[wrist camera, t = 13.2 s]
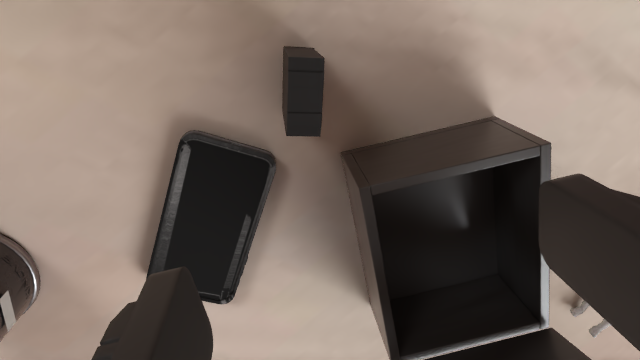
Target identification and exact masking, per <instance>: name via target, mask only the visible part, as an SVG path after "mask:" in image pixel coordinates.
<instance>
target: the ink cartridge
mask: <svg viewBox="0 0 640 360" xmlns="http://www.w3.org/2000/svg"><path fill="white" fill-rule="evenodd" d="M323 86H324V57H322V56H321V55H320V54H319V53H318V52H317V51H315V50H314V48H305V47H284V51H283V107H282V109H283V117H284V124H285V131H286V136H319V137H320V133H321V123H322V101H323Z"/></svg>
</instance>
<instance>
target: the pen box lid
mask: <svg viewBox="0 0 640 360" xmlns="http://www.w3.org/2000/svg"><path fill="white" fill-rule="evenodd" d="M425 360H591V359H590V358H589V357H588V356H586V355H585V354H584V353H583V352H581V351H580V350H579V349H578V348H576V347H575V346H574V345H573V344H572V343H570V342H569V341H568V340H567V339H565V338H564V337H563V336H562V335H560V334H559V333H558V332H557V331H555V330H554V329H553V328H548V329H544V330H540V331H536V332H532V333H528V334H524V335H521V336H517V337H513V338H509V339H505V340H501V341H497V342H493V343H489V344H485V345H481V346H477V347H473V348H469V349H465V350H461V351H457V352H453V353H449V354H445V355H441V356H437V357H433V358H429V359H425Z"/></svg>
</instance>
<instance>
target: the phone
mask: <svg viewBox="0 0 640 360" xmlns="http://www.w3.org/2000/svg"><path fill="white" fill-rule="evenodd" d="M275 171H276V161H275V158H274V156H273V155H272V154H271V153H270V152H268V151H266V150H263V149H259V148H256V147H253V146H249V145H246V144H242V143H239V142H235V141H232V140H229V139H225V138H222V137H218V136H215V135H211V134H208V133H205V132H201V131H196V130H194V131H189V132H187V133H186V134H185V135H184V136H183V137H182V139H181V140H180V142H179V145H178V149H177V153H176V158H175V162H174V166H173V170H172V174H171V178H170V182H169V186H168V191H167V195H166V199H165V203H164V207H163V211H162V215H161V220H160V224H159V228H158V232H157V236H156V240H155V244H154V249H153V253H152V257H151V261H150V265H149V269H148V273H147V277H146V280H147V278H148V276H149V275H151V274H154V273H158V272H163V271H167V270H171V269H175V268H179V267H186V268H187V269H188V270H189V271H190V273H191V275H192V278H193V280H194V283H195V285H196V288H197V290H198V293H199V296H200V298H201V301H206V302H211V303H216V304H226V303H229V302H230V301H231V300H233V298H234V296H235V293H236V290H237V287H238V285H239V282H240V278H241V276H242V273H243V270H244V265H246V262H247V259H248V253H249V250H250V247H251V244H252V241H253V238H254V235H255V232H256V229H257V226H258V223H259V220H260V217H261V214H262V211H263V208H264V205H265V202H266V199H267V196H268V193H269V190H270V186H271V183H272V180H273V177H274V174H275Z"/></svg>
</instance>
